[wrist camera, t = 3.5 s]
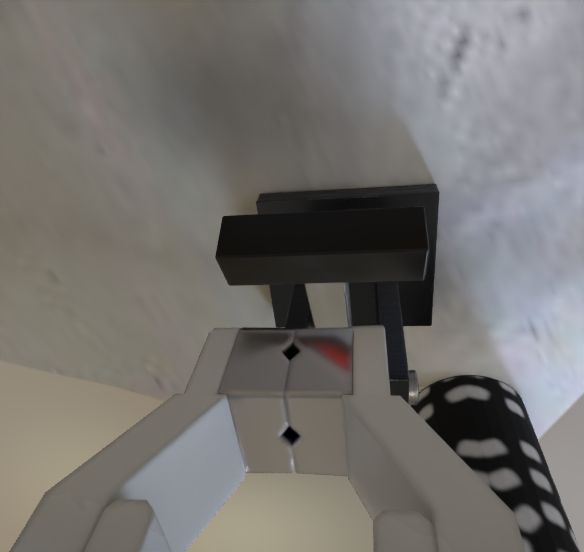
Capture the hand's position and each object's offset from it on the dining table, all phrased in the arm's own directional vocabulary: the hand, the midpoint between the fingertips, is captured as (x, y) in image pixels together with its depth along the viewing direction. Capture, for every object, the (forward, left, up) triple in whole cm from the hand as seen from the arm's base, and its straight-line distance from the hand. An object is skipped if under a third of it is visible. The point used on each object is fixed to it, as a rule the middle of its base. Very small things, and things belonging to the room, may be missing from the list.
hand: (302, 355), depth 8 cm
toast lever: (0, +4, -7) cm, 9 cm away
